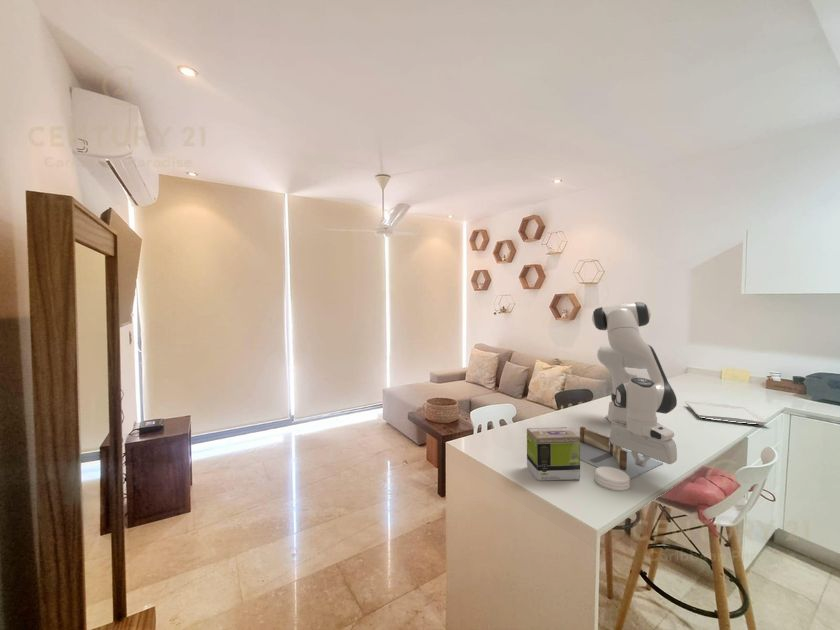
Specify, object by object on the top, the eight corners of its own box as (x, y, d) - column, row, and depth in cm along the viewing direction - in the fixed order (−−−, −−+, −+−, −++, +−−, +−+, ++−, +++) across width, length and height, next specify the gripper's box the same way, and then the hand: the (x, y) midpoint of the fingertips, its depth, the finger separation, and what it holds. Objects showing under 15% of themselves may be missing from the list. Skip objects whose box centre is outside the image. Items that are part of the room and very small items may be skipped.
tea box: (566, 466, 123) (567, 426, 123) (580, 480, 113) (581, 437, 112) (525, 467, 122) (526, 426, 122) (536, 481, 112) (537, 437, 112)
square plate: (683, 406, 199) (683, 400, 199) (744, 413, 187) (745, 406, 187) (697, 420, 174) (697, 413, 174) (768, 429, 162) (769, 421, 162)
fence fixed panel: (582, 441, 146) (582, 426, 146) (617, 454, 133) (618, 438, 133) (578, 442, 145) (578, 427, 144) (614, 456, 132) (614, 439, 131)
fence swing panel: (611, 454, 132) (611, 439, 132) (617, 455, 131) (617, 439, 131) (620, 469, 120) (620, 452, 120) (627, 470, 119) (627, 453, 119)
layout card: (591, 438, 149) (591, 437, 149) (662, 463, 125) (663, 462, 125) (556, 449, 137) (556, 448, 137) (627, 480, 113) (627, 479, 113)
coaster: (601, 490, 108) (601, 479, 107) (590, 474, 117) (590, 464, 117) (635, 493, 106) (635, 482, 106) (621, 477, 116) (622, 467, 116)
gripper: (606, 418, 123) (605, 456, 124) (670, 438, 106) (669, 481, 106) (616, 416, 126) (615, 452, 127) (680, 434, 109) (678, 476, 109)
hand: (640, 465), depth 116 cm, fingers closed
